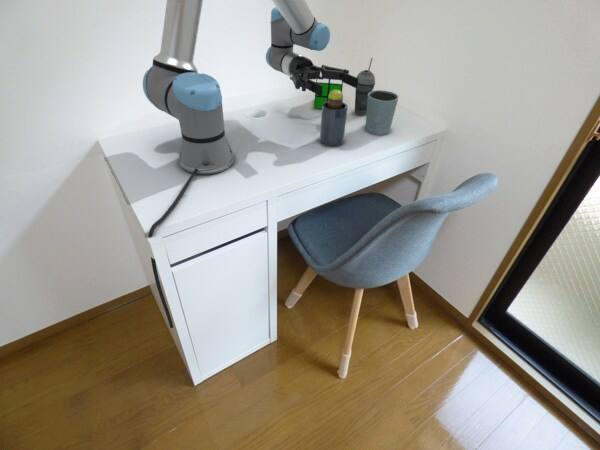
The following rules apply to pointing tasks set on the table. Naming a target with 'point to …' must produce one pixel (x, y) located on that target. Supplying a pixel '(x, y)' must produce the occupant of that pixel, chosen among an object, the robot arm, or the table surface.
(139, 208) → the table surface
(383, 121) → the grey-green cup
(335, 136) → the tube
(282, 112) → the table surface
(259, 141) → the table surface
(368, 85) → the tumbler with straw
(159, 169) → the table surface
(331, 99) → the peg
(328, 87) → the puzzle cube
